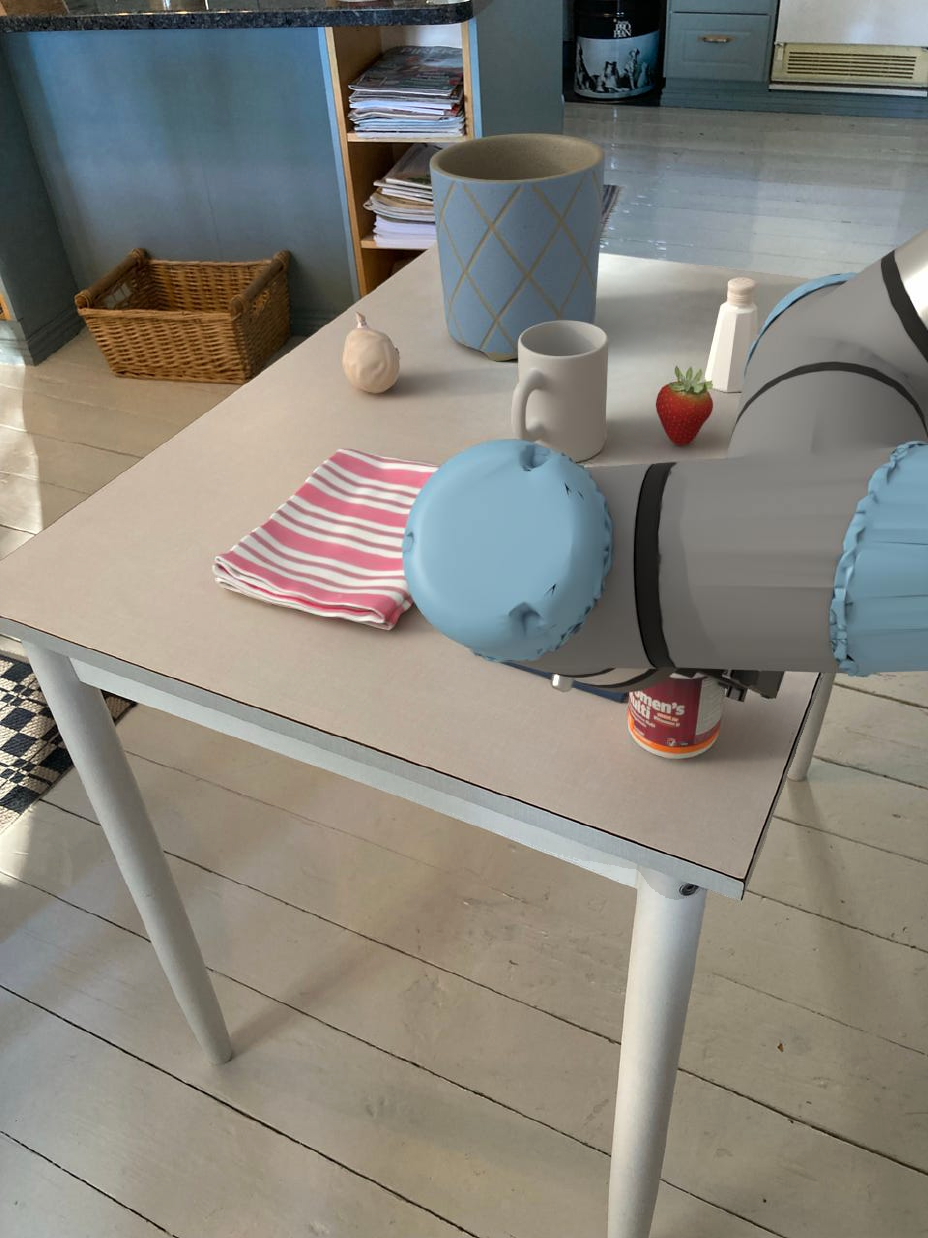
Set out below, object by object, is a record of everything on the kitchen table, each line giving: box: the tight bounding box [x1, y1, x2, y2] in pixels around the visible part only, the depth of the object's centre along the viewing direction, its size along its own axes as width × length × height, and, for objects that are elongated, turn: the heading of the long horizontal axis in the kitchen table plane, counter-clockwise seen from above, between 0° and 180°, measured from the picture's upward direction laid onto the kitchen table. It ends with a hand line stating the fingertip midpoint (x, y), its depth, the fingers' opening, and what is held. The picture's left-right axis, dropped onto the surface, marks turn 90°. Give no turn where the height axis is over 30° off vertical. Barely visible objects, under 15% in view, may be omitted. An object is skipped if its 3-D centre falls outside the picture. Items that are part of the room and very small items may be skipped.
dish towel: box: [211, 447, 442, 631], centre depth 87 cm, size 17×23×4 cm
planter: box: [429, 133, 606, 362], centre depth 114 cm, size 19×19×20 cm
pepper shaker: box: [704, 276, 759, 394], centre depth 104 cm, size 5×5×11 cm
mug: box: [510, 321, 610, 463], centre depth 95 cm, size 12×8×11 cm
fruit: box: [655, 365, 714, 446], centre depth 95 cm, size 5×5×8 cm
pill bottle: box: [627, 673, 726, 760], centre depth 64 cm, size 6×6×11 cm
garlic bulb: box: [341, 310, 401, 394], centre depth 108 cm, size 7×6×8 cm
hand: (695, 660), depth 68 cm, fingers closed on pill bottle, 6 cm apart
